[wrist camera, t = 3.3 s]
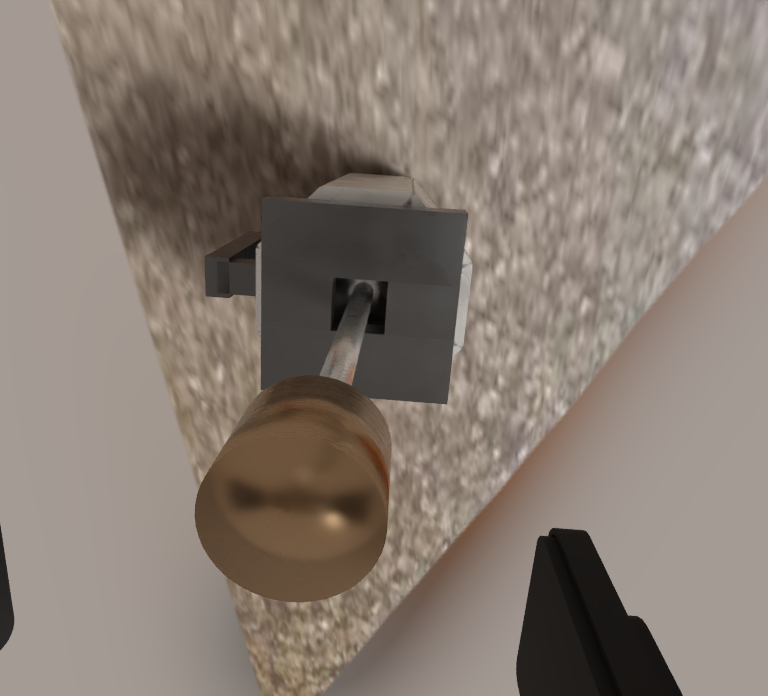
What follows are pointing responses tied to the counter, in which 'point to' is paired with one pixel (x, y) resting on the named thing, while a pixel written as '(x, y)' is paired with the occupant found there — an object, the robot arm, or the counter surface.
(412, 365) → the french press
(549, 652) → the robot arm
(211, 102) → the counter surface
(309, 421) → the plunger
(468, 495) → the counter surface
